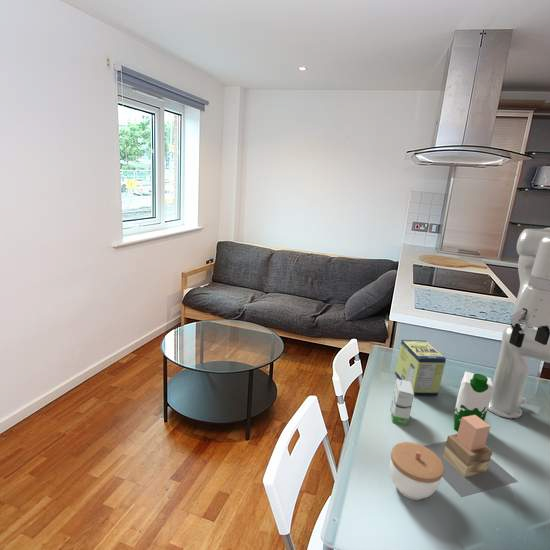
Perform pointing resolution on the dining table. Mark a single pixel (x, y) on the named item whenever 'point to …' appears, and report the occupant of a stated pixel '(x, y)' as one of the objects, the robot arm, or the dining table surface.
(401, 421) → the ink box
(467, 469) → the oak slab
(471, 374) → the milk carton
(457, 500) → the dining table surface
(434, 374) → the protein box
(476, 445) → the terracotta block
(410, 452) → the lidded bowl
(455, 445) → the walnut slab
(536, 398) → the dining table surface
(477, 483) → the rubber mat
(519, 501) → the dining table surface
